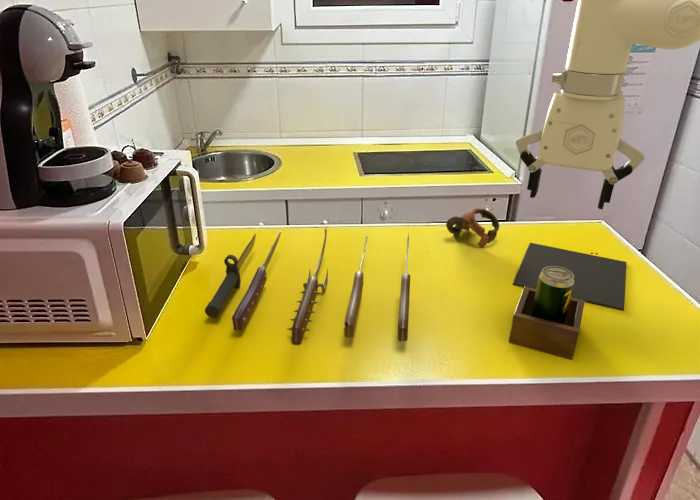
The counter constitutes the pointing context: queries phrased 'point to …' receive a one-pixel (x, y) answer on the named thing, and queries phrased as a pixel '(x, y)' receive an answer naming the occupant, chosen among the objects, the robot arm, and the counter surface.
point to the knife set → (309, 295)
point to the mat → (577, 274)
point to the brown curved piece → (474, 225)
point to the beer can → (553, 294)
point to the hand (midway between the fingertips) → (566, 200)
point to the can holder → (546, 327)
